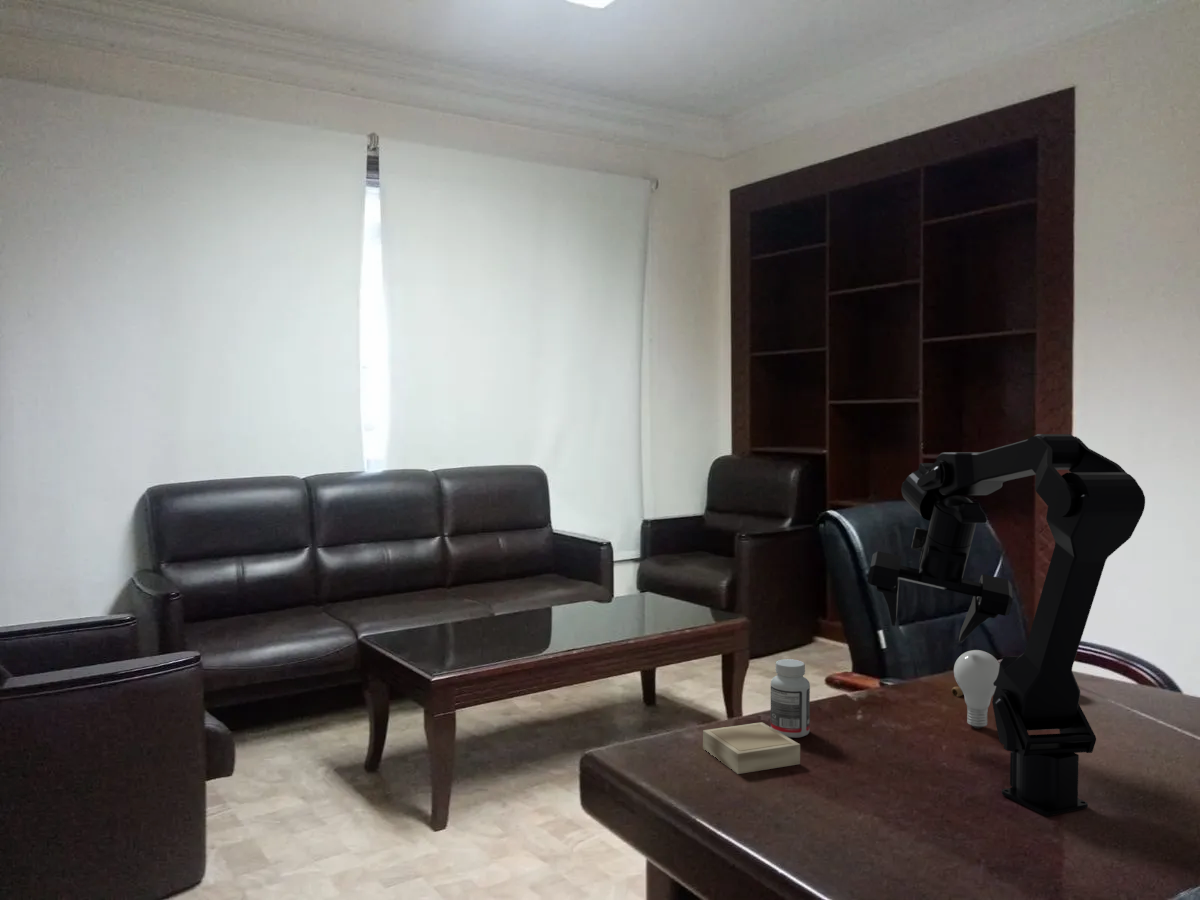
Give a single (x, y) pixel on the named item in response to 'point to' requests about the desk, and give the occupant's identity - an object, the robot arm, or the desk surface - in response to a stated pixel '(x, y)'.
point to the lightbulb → (976, 683)
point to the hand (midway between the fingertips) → (926, 632)
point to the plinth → (751, 747)
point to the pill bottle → (790, 699)
